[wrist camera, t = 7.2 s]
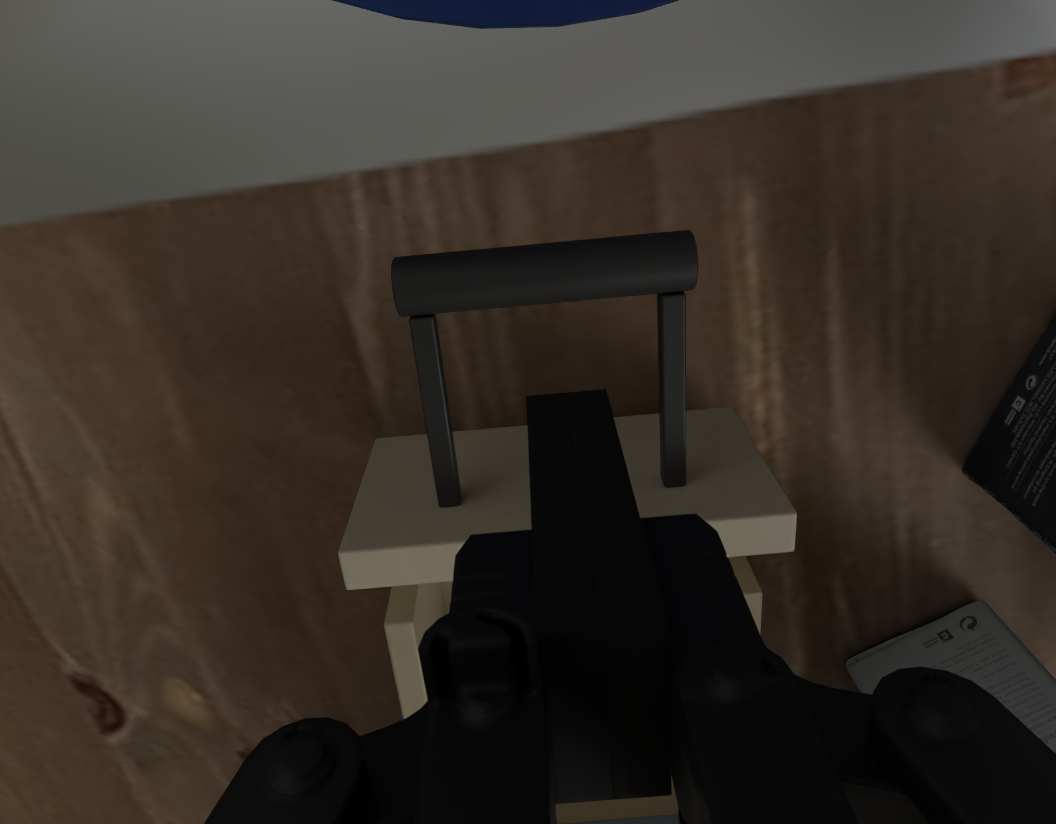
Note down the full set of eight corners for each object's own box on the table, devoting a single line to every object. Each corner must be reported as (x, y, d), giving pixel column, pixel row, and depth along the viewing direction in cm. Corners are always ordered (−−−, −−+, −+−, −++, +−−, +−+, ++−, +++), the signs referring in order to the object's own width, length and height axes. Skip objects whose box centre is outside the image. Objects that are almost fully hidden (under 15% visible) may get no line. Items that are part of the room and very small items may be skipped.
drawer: (335, 227, 22) (276, 290, 17) (737, 189, 22) (817, 240, 16) (429, 724, 30) (411, 881, 25) (724, 699, 30) (775, 852, 25)
